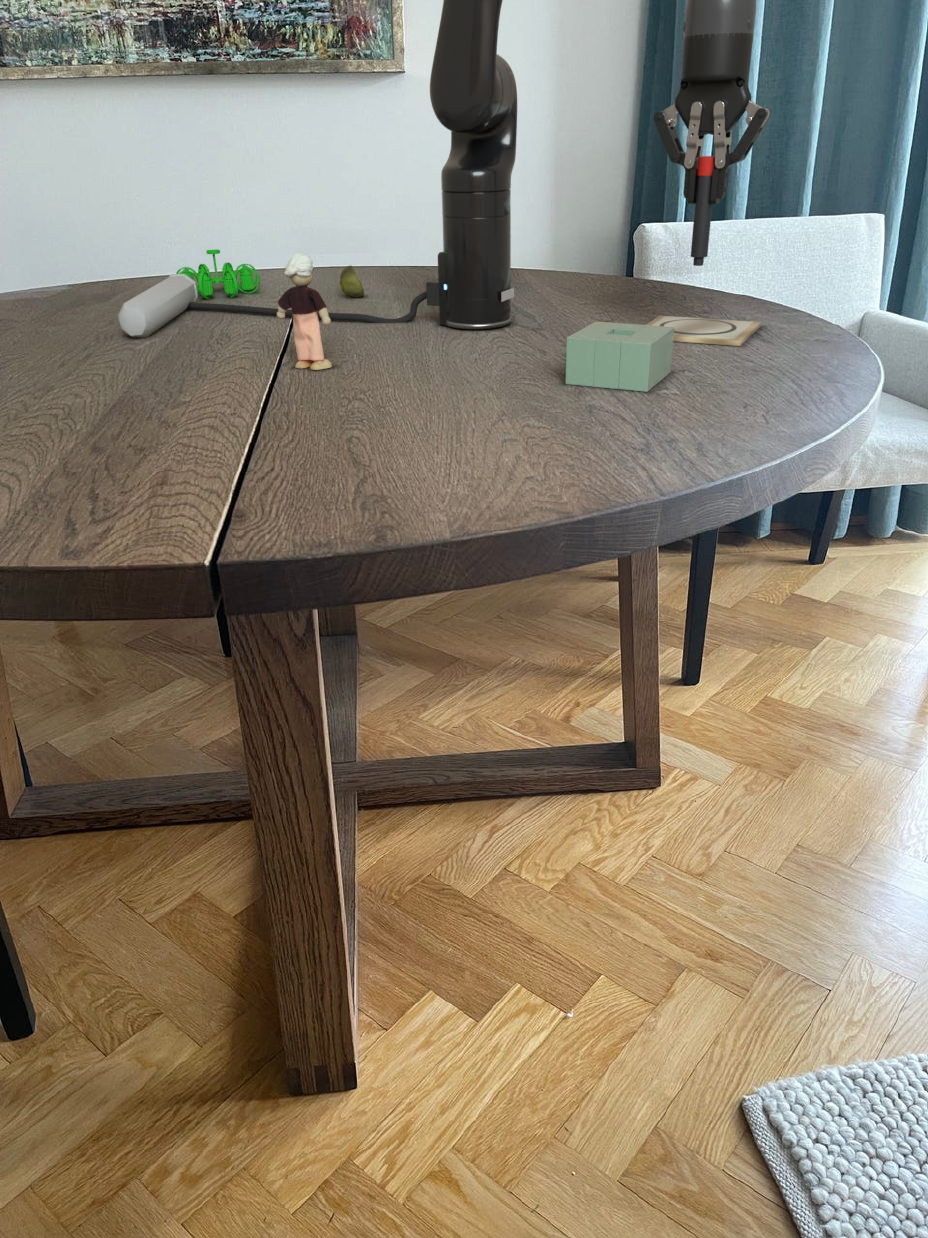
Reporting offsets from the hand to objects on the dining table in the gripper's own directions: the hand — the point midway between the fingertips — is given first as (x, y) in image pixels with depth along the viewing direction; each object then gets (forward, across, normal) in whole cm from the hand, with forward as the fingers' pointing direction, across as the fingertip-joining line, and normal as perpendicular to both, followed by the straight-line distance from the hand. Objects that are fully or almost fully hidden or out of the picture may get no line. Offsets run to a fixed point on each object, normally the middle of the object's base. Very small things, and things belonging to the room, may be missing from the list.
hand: (703, 202), depth 111 cm
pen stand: (+16, +2, +21) cm, 27 cm away
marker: (+7, 0, 0) cm, 7 cm away
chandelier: (+16, +85, -8) cm, 87 cm away
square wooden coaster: (+16, +1, -6) cm, 17 cm away
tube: (+16, +75, +16) cm, 79 cm away
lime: (+16, +60, -13) cm, 63 cm away
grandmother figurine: (+16, +38, +30) cm, 51 cm away
